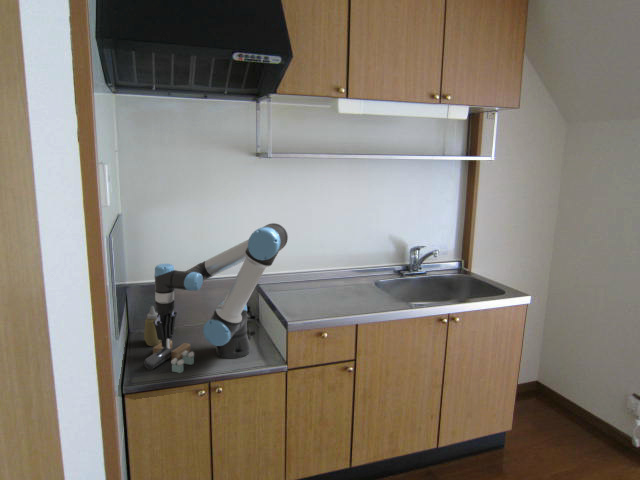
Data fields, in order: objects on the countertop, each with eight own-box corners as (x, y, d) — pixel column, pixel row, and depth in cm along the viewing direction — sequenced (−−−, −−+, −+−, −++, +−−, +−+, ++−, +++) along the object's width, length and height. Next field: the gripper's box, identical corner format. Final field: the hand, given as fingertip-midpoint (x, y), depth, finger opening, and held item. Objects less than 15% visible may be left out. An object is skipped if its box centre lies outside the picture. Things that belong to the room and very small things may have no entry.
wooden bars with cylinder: (190, 351, 198) (190, 344, 197) (177, 360, 189) (177, 352, 189) (166, 346, 202) (166, 339, 201) (153, 355, 193) (152, 348, 192)
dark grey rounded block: (160, 355, 192) (162, 345, 190) (170, 359, 191) (172, 349, 189) (143, 366, 181) (145, 356, 180) (153, 371, 180) (155, 360, 179)
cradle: (184, 361, 189) (184, 350, 188) (194, 363, 188) (194, 351, 187) (171, 371, 180) (170, 359, 179) (181, 373, 179) (181, 361, 178)
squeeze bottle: (156, 348, 199) (155, 310, 196) (140, 346, 201) (138, 308, 197) (166, 341, 207) (165, 304, 204) (150, 339, 209) (149, 302, 205)
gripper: (166, 294, 194) (168, 345, 199) (147, 304, 182) (148, 357, 186) (181, 297, 192) (182, 348, 196) (162, 306, 180) (164, 360, 184)
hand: (166, 352), depth 191 cm, fingers closed
